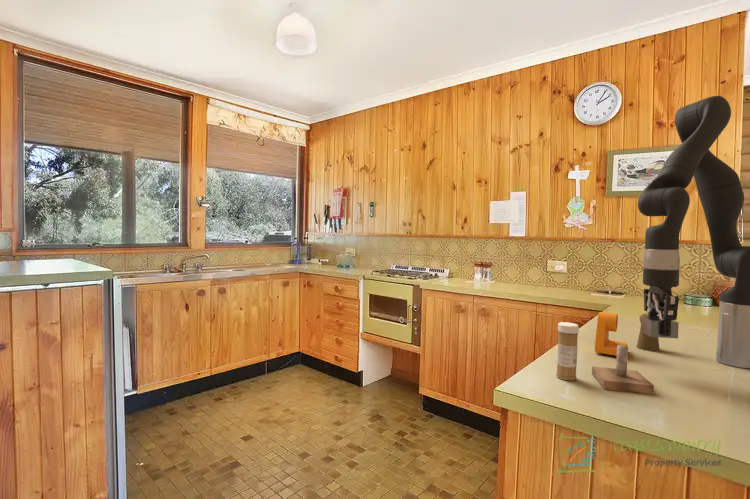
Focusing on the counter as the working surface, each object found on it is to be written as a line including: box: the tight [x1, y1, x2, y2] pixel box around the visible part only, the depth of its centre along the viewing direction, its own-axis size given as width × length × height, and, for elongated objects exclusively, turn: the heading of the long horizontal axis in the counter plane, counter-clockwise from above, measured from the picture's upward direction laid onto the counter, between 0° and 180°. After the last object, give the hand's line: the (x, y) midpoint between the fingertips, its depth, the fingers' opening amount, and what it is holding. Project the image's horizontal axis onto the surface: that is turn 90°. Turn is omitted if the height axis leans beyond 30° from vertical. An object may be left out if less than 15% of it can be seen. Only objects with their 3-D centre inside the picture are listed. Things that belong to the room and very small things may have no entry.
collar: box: [640, 315, 680, 339], centre depth 102 cm, size 6×6×4 cm
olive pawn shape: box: [636, 313, 660, 352], centre depth 126 cm, size 6×6×11 cm
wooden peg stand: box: [591, 345, 655, 395], centre depth 95 cm, size 10×10×9 cm
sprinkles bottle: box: [555, 321, 580, 381], centre depth 98 cm, size 5×5×14 cm
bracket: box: [594, 311, 628, 357], centre depth 120 cm, size 11×7×12 cm, turn 142°
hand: (658, 332), depth 102 cm, fingers closed on collar, 6 cm apart
